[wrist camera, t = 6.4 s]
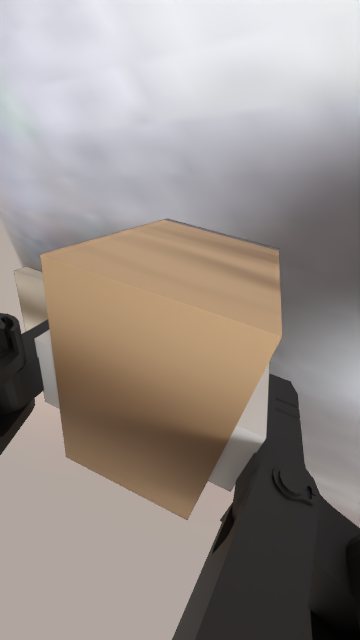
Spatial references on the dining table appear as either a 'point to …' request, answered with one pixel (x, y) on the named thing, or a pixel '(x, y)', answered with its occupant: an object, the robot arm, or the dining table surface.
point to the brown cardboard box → (159, 351)
